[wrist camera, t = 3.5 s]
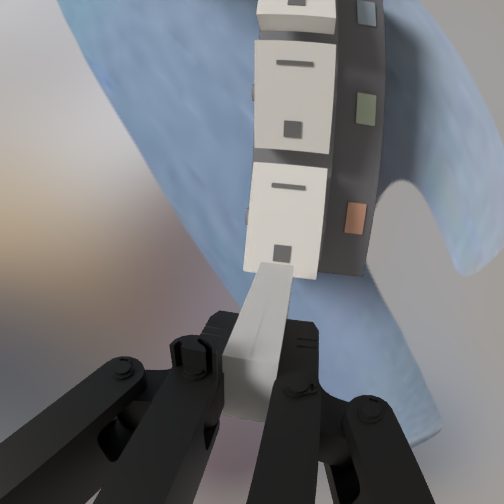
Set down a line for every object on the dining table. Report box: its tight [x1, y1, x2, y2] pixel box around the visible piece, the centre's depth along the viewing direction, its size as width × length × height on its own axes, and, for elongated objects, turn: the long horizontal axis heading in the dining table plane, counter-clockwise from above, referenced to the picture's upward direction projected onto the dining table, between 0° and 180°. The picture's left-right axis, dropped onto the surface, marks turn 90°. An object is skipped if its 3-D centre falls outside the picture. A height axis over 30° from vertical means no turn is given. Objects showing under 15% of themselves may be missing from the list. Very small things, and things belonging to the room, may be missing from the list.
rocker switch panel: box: [252, 0, 385, 277], centre depth 18 cm, size 22×8×6 cm, turn 177°
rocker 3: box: [243, 162, 327, 280], centre depth 17 cm, size 6×4×2 cm
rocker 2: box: [252, 40, 337, 154], centre depth 14 cm, size 6×4×2 cm
